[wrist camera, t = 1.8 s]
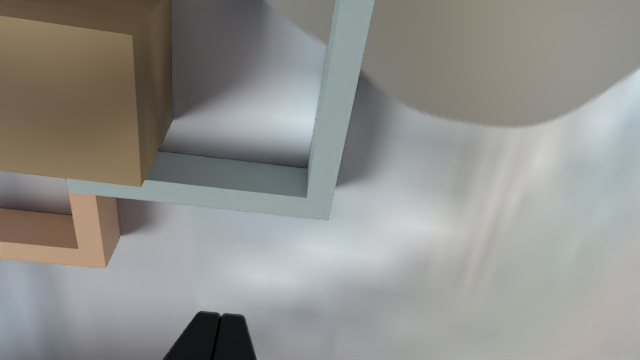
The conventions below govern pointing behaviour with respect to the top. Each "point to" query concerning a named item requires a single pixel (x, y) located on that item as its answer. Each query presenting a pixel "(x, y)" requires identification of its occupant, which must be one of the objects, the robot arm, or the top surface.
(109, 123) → the block
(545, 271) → the top surface
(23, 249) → the trap box
